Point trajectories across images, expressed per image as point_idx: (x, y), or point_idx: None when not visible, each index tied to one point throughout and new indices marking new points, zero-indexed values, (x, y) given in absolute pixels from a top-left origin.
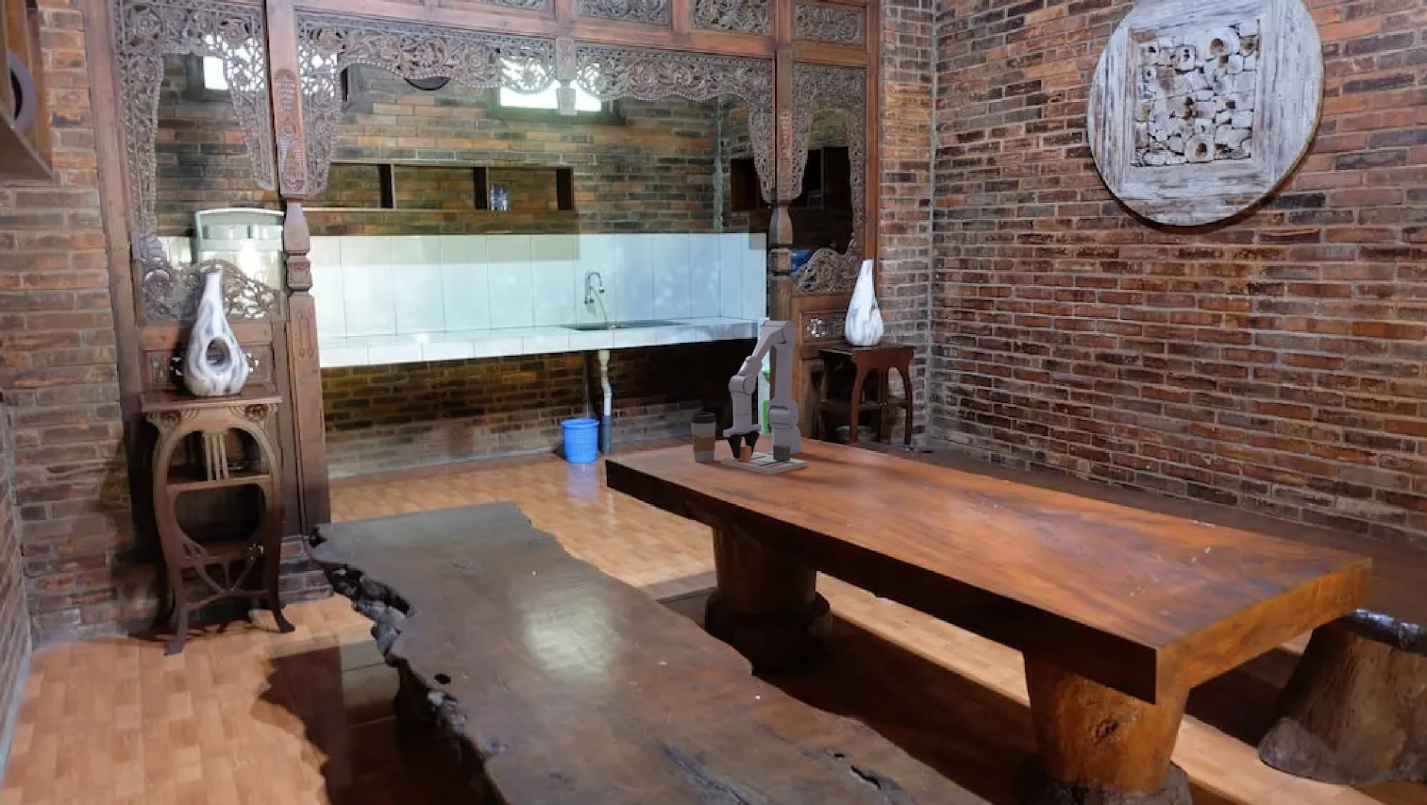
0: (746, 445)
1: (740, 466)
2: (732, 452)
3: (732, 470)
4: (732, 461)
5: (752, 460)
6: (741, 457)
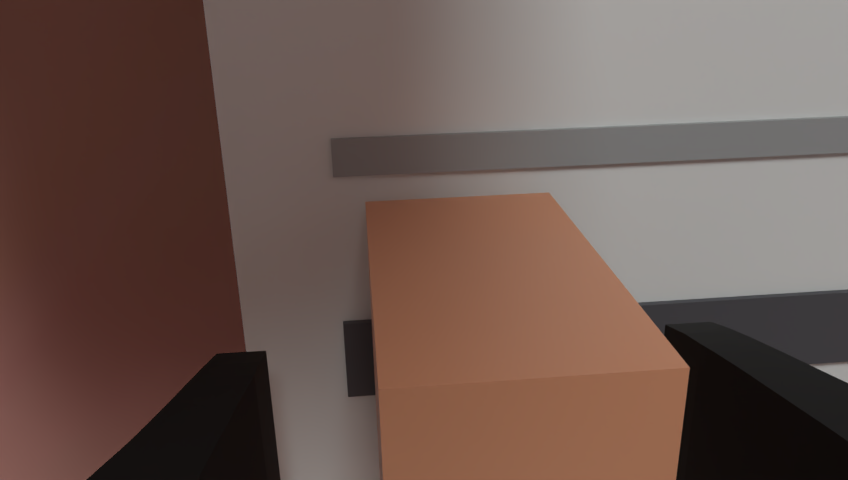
0: (817, 459)
1: None
2: (159, 422)
3: (50, 447)
4: (255, 233)
5: None
6: (378, 447)
